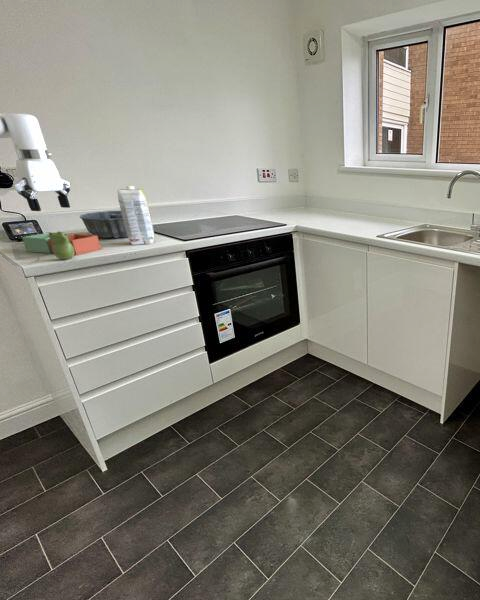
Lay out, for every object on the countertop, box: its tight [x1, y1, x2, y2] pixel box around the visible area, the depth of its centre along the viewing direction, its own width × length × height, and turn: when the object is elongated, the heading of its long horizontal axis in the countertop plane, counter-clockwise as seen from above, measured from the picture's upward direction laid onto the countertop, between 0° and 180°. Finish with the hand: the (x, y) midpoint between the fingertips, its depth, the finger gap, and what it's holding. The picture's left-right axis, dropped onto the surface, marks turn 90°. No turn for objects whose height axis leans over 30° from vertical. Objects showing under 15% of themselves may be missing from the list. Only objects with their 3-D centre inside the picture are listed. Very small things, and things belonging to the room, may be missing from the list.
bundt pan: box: [79, 210, 128, 239], centre depth 166 cm, size 26×26×10 cm
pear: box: [50, 231, 75, 261], centre depth 125 cm, size 6×5×10 cm
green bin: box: [21, 231, 73, 254], centre depth 139 cm, size 10×10×6 cm
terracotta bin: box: [49, 233, 102, 256], centre depth 137 cm, size 10×10×6 cm
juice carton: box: [117, 185, 155, 246], centre depth 150 cm, size 9×8×24 cm
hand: (51, 209), depth 121 cm, fingers open, 9 cm apart
